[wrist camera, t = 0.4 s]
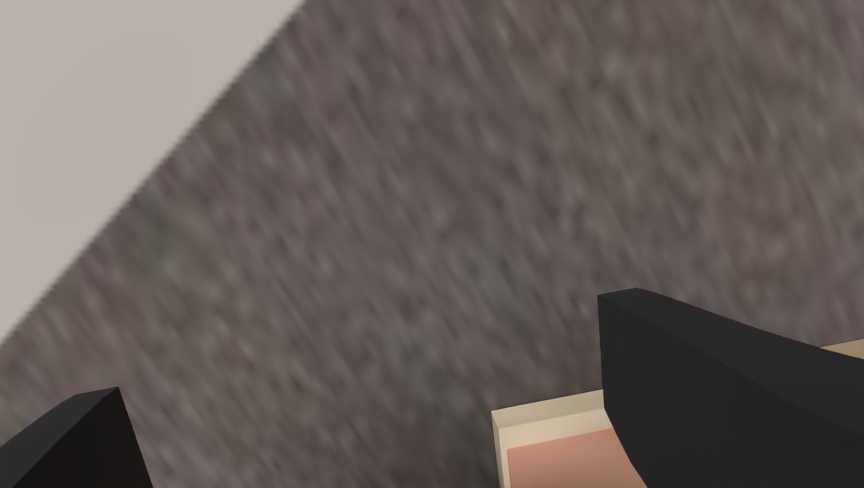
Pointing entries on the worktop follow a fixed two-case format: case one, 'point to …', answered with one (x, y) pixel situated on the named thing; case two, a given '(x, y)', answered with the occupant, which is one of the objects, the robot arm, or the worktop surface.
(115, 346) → the worktop surface
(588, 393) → the board
